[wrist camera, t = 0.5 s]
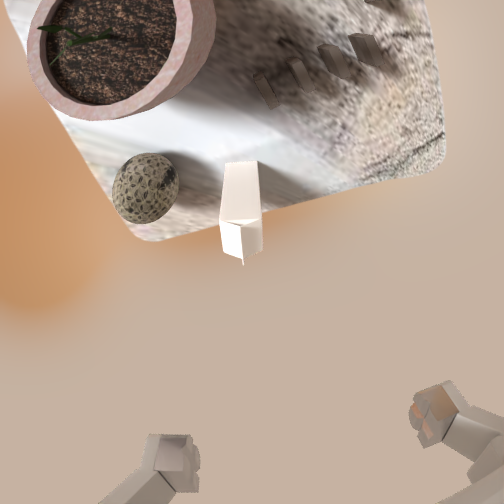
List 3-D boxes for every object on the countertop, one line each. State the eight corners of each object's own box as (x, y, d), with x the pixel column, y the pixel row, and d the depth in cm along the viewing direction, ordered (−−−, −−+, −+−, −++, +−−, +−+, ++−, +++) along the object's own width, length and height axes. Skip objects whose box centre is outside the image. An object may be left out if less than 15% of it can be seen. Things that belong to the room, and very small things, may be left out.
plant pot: (225, 86, 46) (204, 153, 24) (98, 103, 46) (-3, 184, 23) (221, -39, 30) (192, -112, 7) (85, -10, 30) (-39, -8, 7)
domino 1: (253, 74, 44) (254, 81, 39) (261, 70, 44) (264, 77, 38) (266, 98, 47) (270, 109, 42) (275, 94, 47) (280, 105, 41)
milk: (228, 189, 60) (221, 267, 43) (225, 161, 56) (216, 234, 39) (259, 187, 60) (264, 265, 43) (258, 160, 56) (263, 232, 39)
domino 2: (284, 59, 43) (291, 64, 37) (293, 56, 42) (301, 60, 36) (297, 84, 46) (306, 93, 40) (306, 80, 45) (316, 89, 39)
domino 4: (347, 35, 39) (364, 37, 33) (355, 33, 39) (373, 35, 33) (358, 60, 42) (376, 66, 36) (366, 57, 42) (384, 63, 36)
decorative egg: (148, 202, 61) (128, 249, 50) (117, 159, 54) (87, 200, 43) (195, 180, 58) (182, 225, 47) (164, 131, 51) (141, 167, 40)
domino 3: (316, 46, 41) (328, 50, 35) (325, 43, 40) (338, 46, 34) (328, 71, 44) (342, 79, 38) (336, 68, 43) (351, 75, 37)
